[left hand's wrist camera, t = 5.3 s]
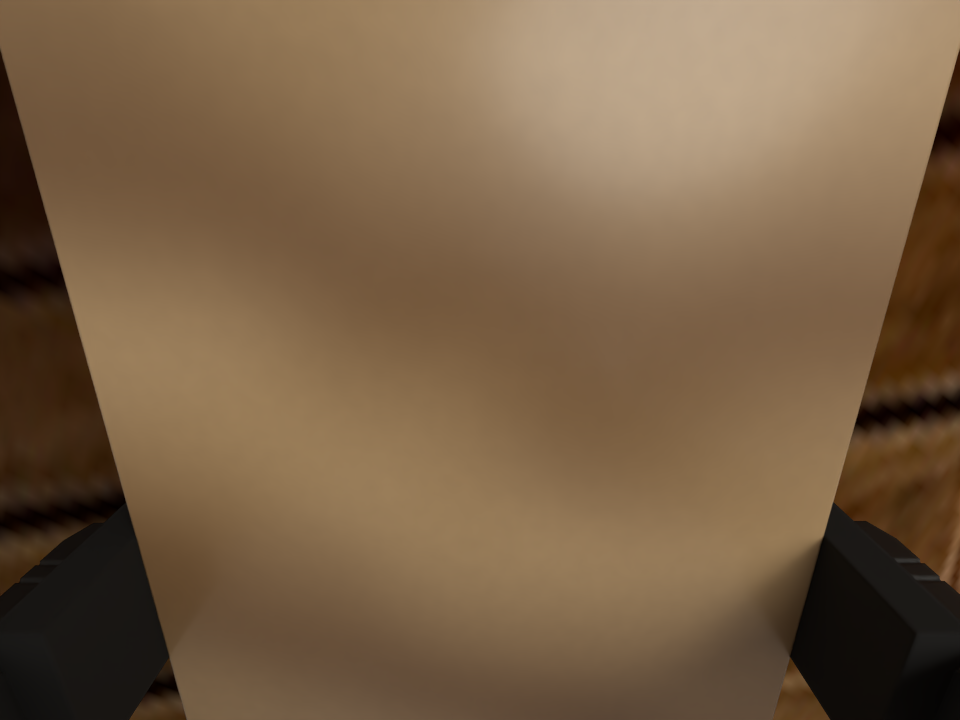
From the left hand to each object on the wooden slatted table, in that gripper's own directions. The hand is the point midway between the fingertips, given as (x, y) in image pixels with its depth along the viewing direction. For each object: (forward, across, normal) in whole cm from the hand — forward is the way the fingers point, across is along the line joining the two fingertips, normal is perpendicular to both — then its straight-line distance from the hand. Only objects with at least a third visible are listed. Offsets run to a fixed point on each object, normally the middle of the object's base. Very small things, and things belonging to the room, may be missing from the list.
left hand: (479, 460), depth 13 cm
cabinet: (+4, 0, -6) cm, 7 cm away
